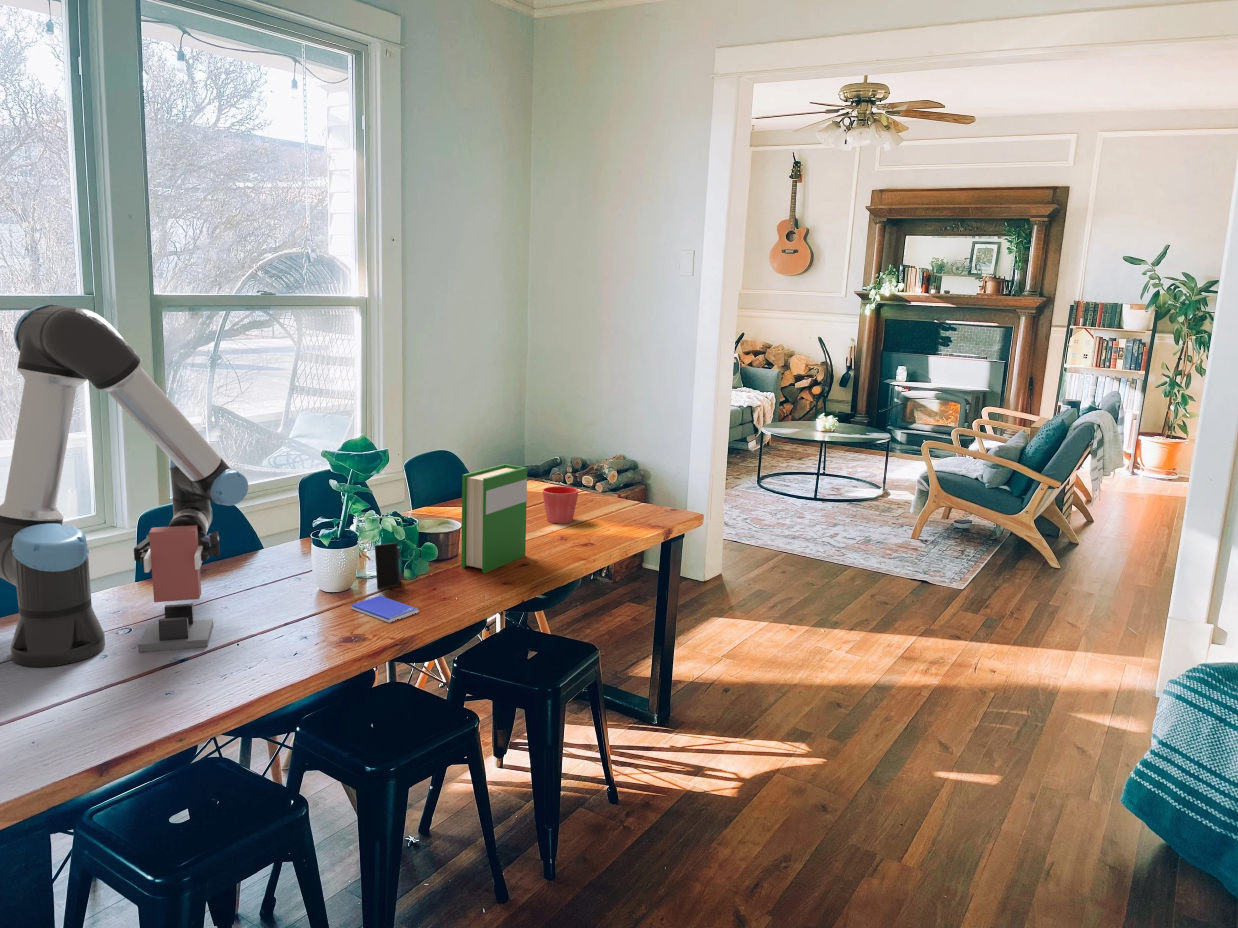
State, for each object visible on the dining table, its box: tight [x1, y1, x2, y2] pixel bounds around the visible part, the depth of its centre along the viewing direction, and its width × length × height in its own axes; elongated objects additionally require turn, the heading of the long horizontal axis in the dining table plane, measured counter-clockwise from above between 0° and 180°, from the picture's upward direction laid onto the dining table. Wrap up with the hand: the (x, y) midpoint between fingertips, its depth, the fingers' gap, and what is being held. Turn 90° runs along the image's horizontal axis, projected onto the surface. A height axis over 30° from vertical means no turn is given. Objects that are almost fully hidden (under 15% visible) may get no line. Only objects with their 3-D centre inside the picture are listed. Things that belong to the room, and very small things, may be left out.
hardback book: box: [460, 463, 528, 574], centre depth 237 cm, size 18×7×24 cm, turn 151°
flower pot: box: [542, 485, 579, 524], centre depth 281 cm, size 11×11×10 cm
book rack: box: [137, 603, 214, 653], centre depth 181 cm, size 12×11×6 cm
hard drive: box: [351, 595, 419, 623], centre depth 201 cm, size 2×8×12 cm
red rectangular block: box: [148, 525, 202, 603], centre depth 179 cm, size 8×4×14 cm, turn 108°
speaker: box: [374, 542, 403, 590], centre depth 218 cm, size 8×6×10 cm
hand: (171, 564), depth 174 cm, fingers closed on red rectangular block, 8 cm apart
